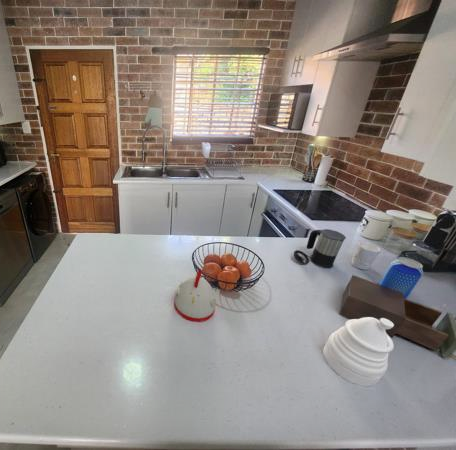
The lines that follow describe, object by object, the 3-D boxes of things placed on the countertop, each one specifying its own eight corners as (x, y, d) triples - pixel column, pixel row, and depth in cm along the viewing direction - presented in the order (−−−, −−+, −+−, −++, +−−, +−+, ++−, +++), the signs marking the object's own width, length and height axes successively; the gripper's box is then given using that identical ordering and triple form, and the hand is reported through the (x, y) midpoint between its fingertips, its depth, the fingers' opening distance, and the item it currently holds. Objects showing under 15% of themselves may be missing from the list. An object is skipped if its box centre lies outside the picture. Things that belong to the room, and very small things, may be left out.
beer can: (374, 296, 93) (394, 262, 86) (375, 286, 99) (394, 252, 92) (403, 308, 88) (427, 272, 81) (403, 296, 94) (426, 262, 87)
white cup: (349, 258, 117) (357, 240, 112) (370, 264, 113) (379, 246, 108) (349, 266, 111) (358, 247, 106) (371, 273, 107) (381, 253, 102)
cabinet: (391, 311, 87) (403, 292, 83) (392, 338, 77) (406, 318, 73) (343, 292, 95) (352, 274, 91) (338, 314, 85) (348, 295, 81)
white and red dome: (169, 314, 82) (172, 278, 75) (180, 288, 94) (183, 255, 87) (211, 327, 78) (218, 290, 71) (217, 298, 90) (223, 264, 83)
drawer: (466, 339, 76) (480, 323, 73) (478, 371, 67) (494, 355, 64) (388, 309, 87) (397, 294, 84) (389, 332, 77) (399, 317, 74)
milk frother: (337, 264, 112) (349, 235, 105) (320, 276, 104) (333, 245, 97) (305, 249, 122) (315, 223, 116) (288, 259, 114) (297, 231, 107)
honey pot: (390, 379, 65) (427, 331, 57) (354, 392, 62) (388, 344, 53) (345, 338, 76) (370, 293, 68) (312, 348, 73) (334, 302, 64)
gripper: (460, 189, 74) (419, 255, 85) (472, 201, 65) (424, 273, 75) (498, 195, 70) (450, 263, 81) (517, 209, 61) (460, 283, 71)
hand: (438, 268), depth 78 cm, fingers closed
